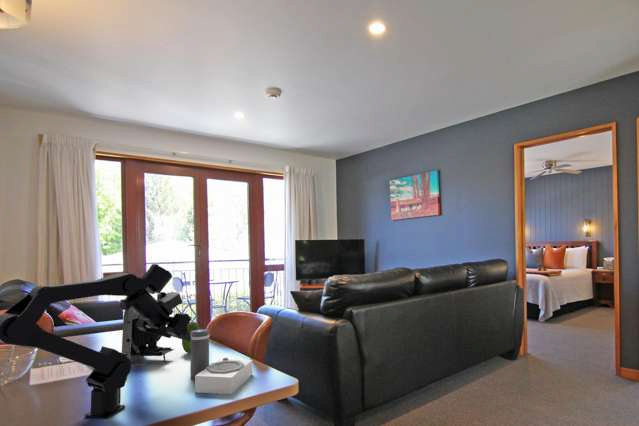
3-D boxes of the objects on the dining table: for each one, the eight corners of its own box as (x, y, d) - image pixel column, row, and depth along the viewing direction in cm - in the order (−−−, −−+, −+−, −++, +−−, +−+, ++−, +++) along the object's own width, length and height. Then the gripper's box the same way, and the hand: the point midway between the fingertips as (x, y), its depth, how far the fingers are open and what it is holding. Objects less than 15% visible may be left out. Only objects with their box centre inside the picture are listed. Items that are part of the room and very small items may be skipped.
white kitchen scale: (231, 394, 104) (231, 375, 104) (195, 392, 106) (195, 373, 106) (252, 374, 120) (252, 358, 120) (220, 373, 122) (220, 356, 122)
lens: (203, 380, 115) (204, 333, 116) (186, 379, 116) (186, 332, 117) (212, 374, 121) (212, 329, 122) (195, 373, 122) (196, 328, 123)
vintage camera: (158, 368, 130) (162, 309, 132) (119, 364, 133) (123, 307, 135) (174, 360, 139) (177, 305, 141) (138, 357, 142) (141, 303, 144)
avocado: (180, 352, 147) (180, 321, 148) (201, 349, 150) (201, 318, 151) (183, 357, 140) (183, 324, 141) (205, 354, 143) (205, 322, 144)
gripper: (185, 285, 106) (216, 318, 114) (146, 282, 116) (177, 313, 124) (160, 318, 98) (194, 351, 107) (120, 313, 108) (154, 343, 117)
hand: (180, 338), depth 114 cm, fingers open, 9 cm apart
